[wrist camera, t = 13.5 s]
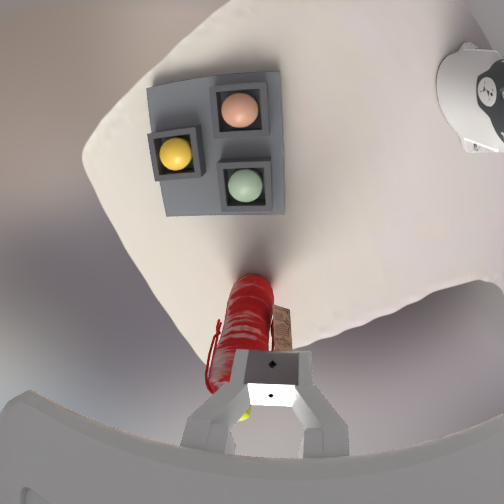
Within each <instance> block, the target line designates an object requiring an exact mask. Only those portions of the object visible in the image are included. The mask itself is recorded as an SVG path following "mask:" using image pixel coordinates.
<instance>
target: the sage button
mask: <svg viewBox="0 0 504 504" xmlns="http://www.w3.org/2000/svg"><path fill="white" fill-rule="evenodd" d="M262 187H263V178H262V175H261V174H260V173H259V171H257V170H256V169H255V168H239V169H237V170H236V171H235V172H234V173H233V175H232V176H231V178H230V180H229V183H228V188H229V192H230V194H231V195H232V196H233V197H234V198H235V199H236V200H238V201H241V202H251V201H253V200H255V199H256V198H258V197H259V195H260V193H261V191H262Z"/></svg>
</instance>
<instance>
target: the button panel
mask: <svg viewBox="0 0 504 504" xmlns="http://www.w3.org/2000/svg"><path fill="white" fill-rule="evenodd" d="M146 90H147V99H148V108H149V116H150V124H151V131H152V133H149V134H147V135H148V142H149V149H150V155H151V161H152V167H153V172H154V178H155V181H160V186H161V192H162V197H163V202H164V207H165V212H166V217H169V216H199V215H260V214H284V156H283V125H282V102H281V82H280V71H267V72H249V73H236V74H226V75H217V76H209V77H202V78H196V79H190V80H184V81H178V82H173V83H168V84H163V85H159V86H154V87H150V88H146ZM236 93H244V94H248V95H251V96H252V97H254V98H255V99H256V101H257V102H258V105H259V114H258V117H257V118H256V120H255V121H254V122H252V123H251V124H250V125H248V126H246V127H233V126H231V125H229V124H228V123H227V122H226V121H225V120H224V118H223V116H222V112H221V109H222V105H223V102H224V101H225V100H226V99H227V98H228V97H229V96H231V95H233V94H236ZM177 136H182V137H186V138H188V139H189V140H190V141H191V147H192V155H193V160H192V161H191V162H190V163H189V164H188V165H187V166H185V167H184V168H183V169H180V170H171V169H168V168H167V167H165V166H164V165H163V163H162V162H161V159H160V149H161V146H162V145H163V144H164V143H165V142H166V141H167V140H169V139H172V138H174V137H177ZM239 168H255V169H256V170H257V171H259V173H260V174H261V175H262V178H263V187H262V191H261V193H260V195H259V197H258V198H256V199H255V200H253V201H251V202H241V201H238V200H236V199H235V198H234V197H233V196H232V195H231V194H230V192H229V188H228V183H229V180H230V178H231V176H232V175H233V173H234V172H235V171H236V170H237V169H239Z"/></svg>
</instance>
